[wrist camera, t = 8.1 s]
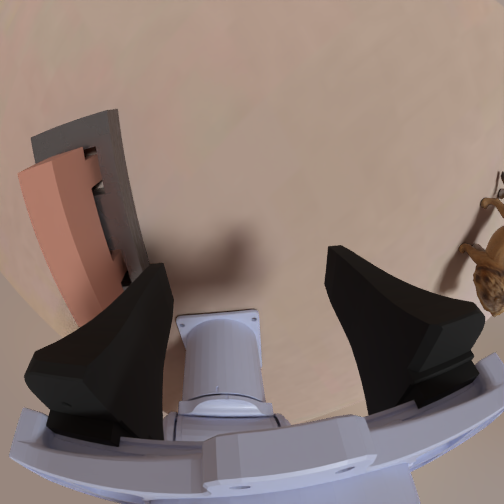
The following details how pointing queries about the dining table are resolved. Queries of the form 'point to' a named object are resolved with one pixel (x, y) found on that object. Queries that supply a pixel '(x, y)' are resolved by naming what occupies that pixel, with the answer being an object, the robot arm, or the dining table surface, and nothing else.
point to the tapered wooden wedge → (73, 232)
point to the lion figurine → (490, 263)
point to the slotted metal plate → (114, 180)
